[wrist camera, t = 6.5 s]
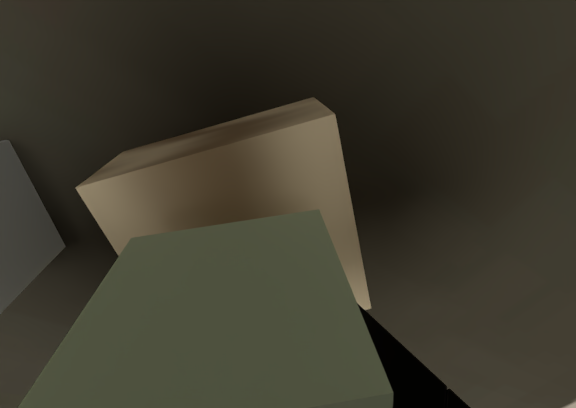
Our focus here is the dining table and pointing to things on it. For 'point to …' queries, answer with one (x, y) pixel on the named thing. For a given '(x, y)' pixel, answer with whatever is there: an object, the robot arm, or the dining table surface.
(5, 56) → the dining table surface
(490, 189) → the dining table surface
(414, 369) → the robot arm
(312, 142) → the birch block
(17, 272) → the blue-grey cube
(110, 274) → the sage cube
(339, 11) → the dining table surface
